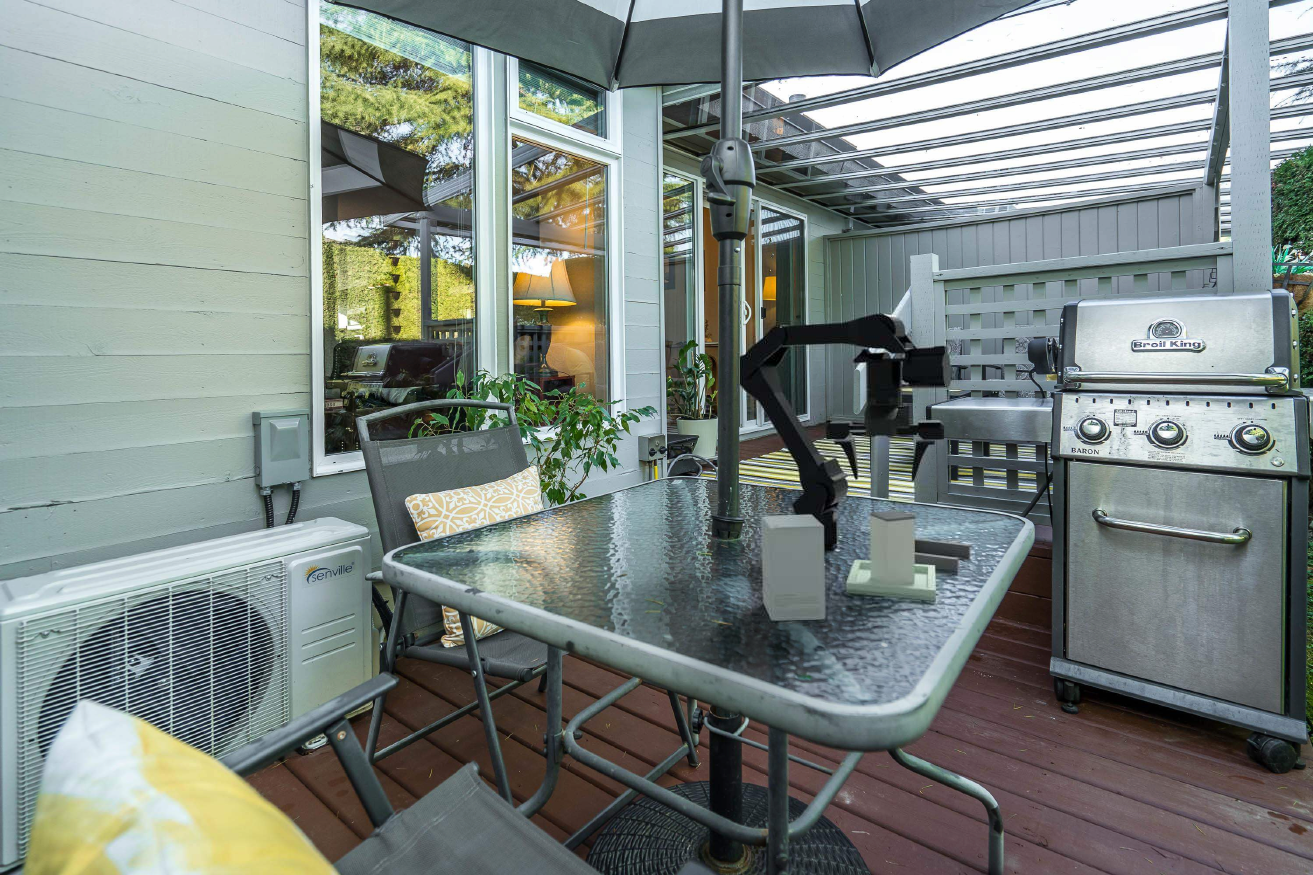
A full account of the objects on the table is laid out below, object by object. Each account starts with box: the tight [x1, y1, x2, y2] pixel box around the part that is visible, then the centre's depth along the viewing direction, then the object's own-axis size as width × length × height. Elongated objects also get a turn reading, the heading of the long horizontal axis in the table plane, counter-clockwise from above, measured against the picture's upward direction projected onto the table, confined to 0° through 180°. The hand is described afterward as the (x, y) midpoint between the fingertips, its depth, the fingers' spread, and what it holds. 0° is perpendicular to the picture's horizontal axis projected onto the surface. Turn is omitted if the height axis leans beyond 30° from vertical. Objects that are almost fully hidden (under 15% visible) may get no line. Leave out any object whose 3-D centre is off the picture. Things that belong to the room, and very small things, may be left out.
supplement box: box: [760, 514, 826, 622], centre depth 89 cm, size 7×7×13 cm
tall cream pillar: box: [869, 509, 916, 585], centre depth 99 cm, size 4×4×10 cm
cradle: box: [915, 537, 971, 573], centre depth 110 cm, size 10×10×2 cm
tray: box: [845, 559, 937, 602], centre depth 99 cm, size 12×12×2 cm
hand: (884, 479), depth 113 cm, fingers open, 9 cm apart
